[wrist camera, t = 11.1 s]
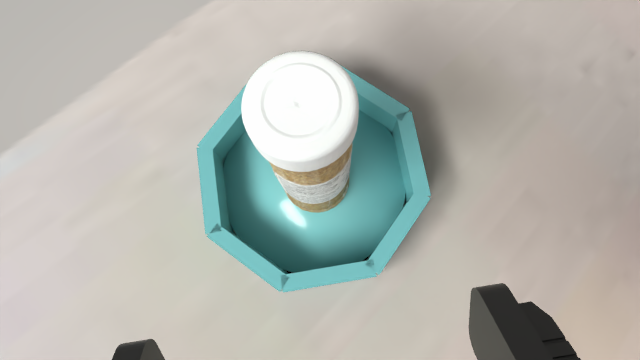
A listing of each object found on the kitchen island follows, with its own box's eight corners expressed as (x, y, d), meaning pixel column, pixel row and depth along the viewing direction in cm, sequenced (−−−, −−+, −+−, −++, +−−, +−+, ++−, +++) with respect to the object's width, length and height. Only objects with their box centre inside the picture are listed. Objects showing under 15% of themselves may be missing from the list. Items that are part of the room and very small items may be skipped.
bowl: (392, 75, 32) (398, 52, 28) (434, 266, 28) (446, 264, 25) (205, 107, 32) (190, 88, 28) (226, 301, 28) (212, 304, 25)
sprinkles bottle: (294, 142, 30) (260, 33, 17) (358, 159, 29) (373, 62, 16) (274, 204, 29) (221, 140, 16) (339, 223, 28) (340, 174, 15)
